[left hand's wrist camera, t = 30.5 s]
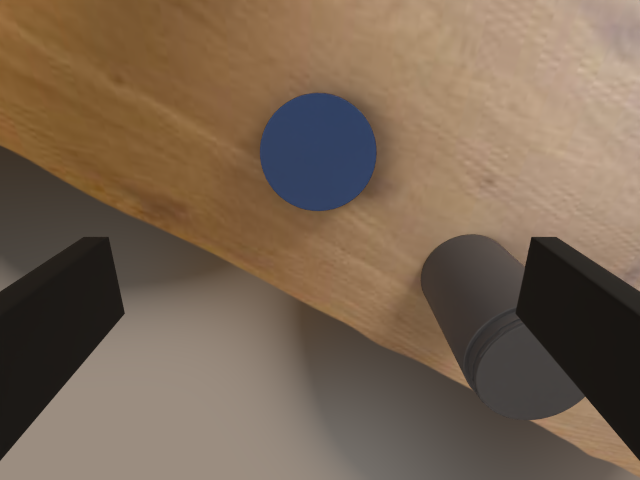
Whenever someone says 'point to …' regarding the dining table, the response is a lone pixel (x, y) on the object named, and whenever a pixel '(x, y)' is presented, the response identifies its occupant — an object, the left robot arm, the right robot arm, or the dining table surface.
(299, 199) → the lid
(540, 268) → the left robot arm
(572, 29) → the dining table surface
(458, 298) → the jar
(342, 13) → the dining table surface
